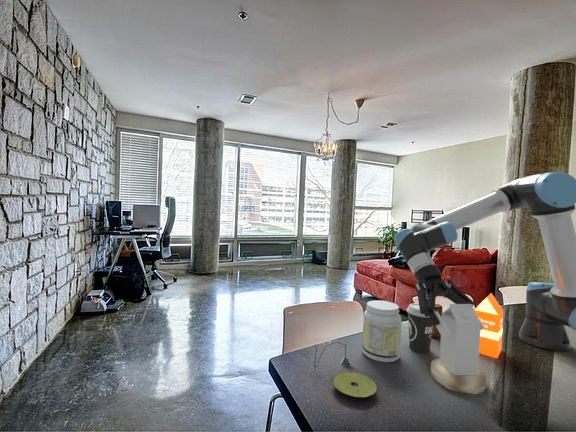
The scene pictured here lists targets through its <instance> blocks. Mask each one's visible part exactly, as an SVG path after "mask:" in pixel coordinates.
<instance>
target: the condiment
mask: <svg viewBox="0 0 576 432" xmlns="http://www.w3.org/2000/svg"><path fill="white" fill-rule="evenodd" d="M437 311H438V313H439V315H440V316H441V318H442V313H443V305H441V304H438V303H435V312H437ZM431 339H435V340H437V341H441V334H440V333H439V331H438V329H437V327H436V326H435V325H434V324H433V329H432V336H431Z"/></svg>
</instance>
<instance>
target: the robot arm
mask: <svg viewBox="0 0 576 432" xmlns="http://www.w3.org/2000/svg"><path fill="white" fill-rule="evenodd" d="M527 208H528V209H529V212H530V216H531V217H533V218H534V219H536V220H537V221H538V225H539V230H540V232H541V238H542V242H543V245H544V249H545V254H546V257H547V262H548V265H549V269H550V272H551V277H552V280H553V282H543V281H530V282H529V283H527V285H526V286H527V287H526V290H525V292H526V295H525V296H526V297H525V316H524V317H525V318H524V321H523V323H522V325H521V327H520V329H519V330H518V331H519V332H518V338H519V337H520V338H519V340H521V341H523V342H524V343H526V344H529V345H531V346H534V347H538V348H540V349H544V350H545V349H546V350H549V351H556V352H567V351H568V352H569V351H570V350H571V341H570V338H569V335H568V332H567V328H566V327H568V328H571V329H572V330H573V331H576V232H575V231H576V230H575V226H574V222H573V219H572V214H573V213H574V212H575V211H576V178H575V177H574V176H573V175H572V174H569V173H566V172H562V171H554V172H553V171H548V172H544V173H543V172H542V173H537V174H533V175H526V176H522V177H519V178H516V179H514V180H511V181H510V182H507V183H506V184H504V185H502V186H500V187H497V188H495V189H493V190H492V191H491V192H490V194H488V195H485V196H483V197H481V198H478V199H476V200H474V201H471V202H470V203H467V204H465V205H462V206H460V207H457V208H455V209H453V210H450V211H448V212H446V213H443V214H441V215H439V216H436V217H434V218H431V219H430V220H429V219H428V220H426V221H425V222H421V223H420V222H419V223H415V224H414V225H412V226H411V228H404V229H401V230H399V231H398V232H396V234H395V235H394V237H393V240H394V243H395V246H396V247H397V250H398V251H399V253H400V254H401V256H402V257H403V259H404V260H405V262H406V264H407V265H408V267H409V269H410V270H411V272H412V274H413V275H414V278H415V279H416V281H417V284H415V285H414V288H415V290H416V295H417V300H418V303H419V308H420V313H421V314H424V315H425V316H426V317H428V316H429V317H430V319H431V321H432V323H433V324H434V325H435V326H436V327H437V329H438V331H439V333H440V334H441V336H442V338H445V337H446V336H448V335H449V334H451V333H450V331H449V330H448V328H447V326H446V325H445V323H444V321H443V320H442V318H441V316H440V315H439V313H438V311H437V312H435V313H434V311H435V304H436V298H437V297H442V298H445V299H448V300H449V301H451V302H452V303H453V304H473V307H474V305H476V304H475V301H473V300H472V299H471V298H470V296H468V295H467V294H465V292H464V291H462V290H461V289H460V288H459V287H458V286H456V285H455V283H454V282H453V280H451V279H448V280H447V281H446V280H443V279H442V275H443V274H442V273H441V271H440V269H439V268H438V266H437V265H436V264H435V261H434V260H433V259H432V257H431V255H430V254H429V252H430V251H434V250H436V249H440V248H442V247H445V246H447V245H448V246H449V245H451V244H452V243H455V242H456V241H458V238H459V237H458V232H457V231H458V230H460V229H463V228H466V227H468V226H470V225H472V224H475V223H477V222H480V221H481V220H484V219H486V218H489V217H492V216H494V215H496V214H498V213H501V212H502V213H507V212H511V211H513V210H518V209H527ZM480 322H481V321H480ZM484 328H485V327H484V326H483V324H482V323H481V327H480V330H482V329H484Z"/></svg>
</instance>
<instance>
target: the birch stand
mask: <svg viewBox="0 0 576 432" xmlns="http://www.w3.org/2000/svg"><path fill="white" fill-rule="evenodd" d="M430 377H431V378H432V379H433V381H435V383H437V384H438V383H439V384H438V385H440V386H441V387H443V386H444V388H446V389H448V390H450V391H453V392H456V393H459V392H460V394H464V393H467V394H466V395H474V394H473V393H480V392H483V391H484V390H485V389H486V390H487V375H486V373H485V372H484V370H482V369H481V368H479V369H478V375H454V374H453V373H451V372H450V371H449V370H448V369H447V368H445V367H444V366H443V365H442V364H441V363H440V357H439V358H438V357H437V358H435V359H433V360H431V361H430ZM486 390H485V391H486ZM485 391H484V392H485ZM484 392H483V393H484Z"/></svg>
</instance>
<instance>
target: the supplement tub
mask: <svg viewBox="0 0 576 432" xmlns="http://www.w3.org/2000/svg"><path fill="white" fill-rule="evenodd" d="M365 308H366V310H365V311H364V313H363V322H362V323H363V326H362V352H363V354H364V356H366V357H367V358H369V359H371V360H373V361H376V362H381V363H392V362H395V361H397V360H398V359H399V358H400V355H401V339H402V316H401V315H400V314H399V313H400V306H399V305H398V304H397V303H394V302H391V301H387V300H379V299H378V300H369V301H367V302H366V307H365Z"/></svg>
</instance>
